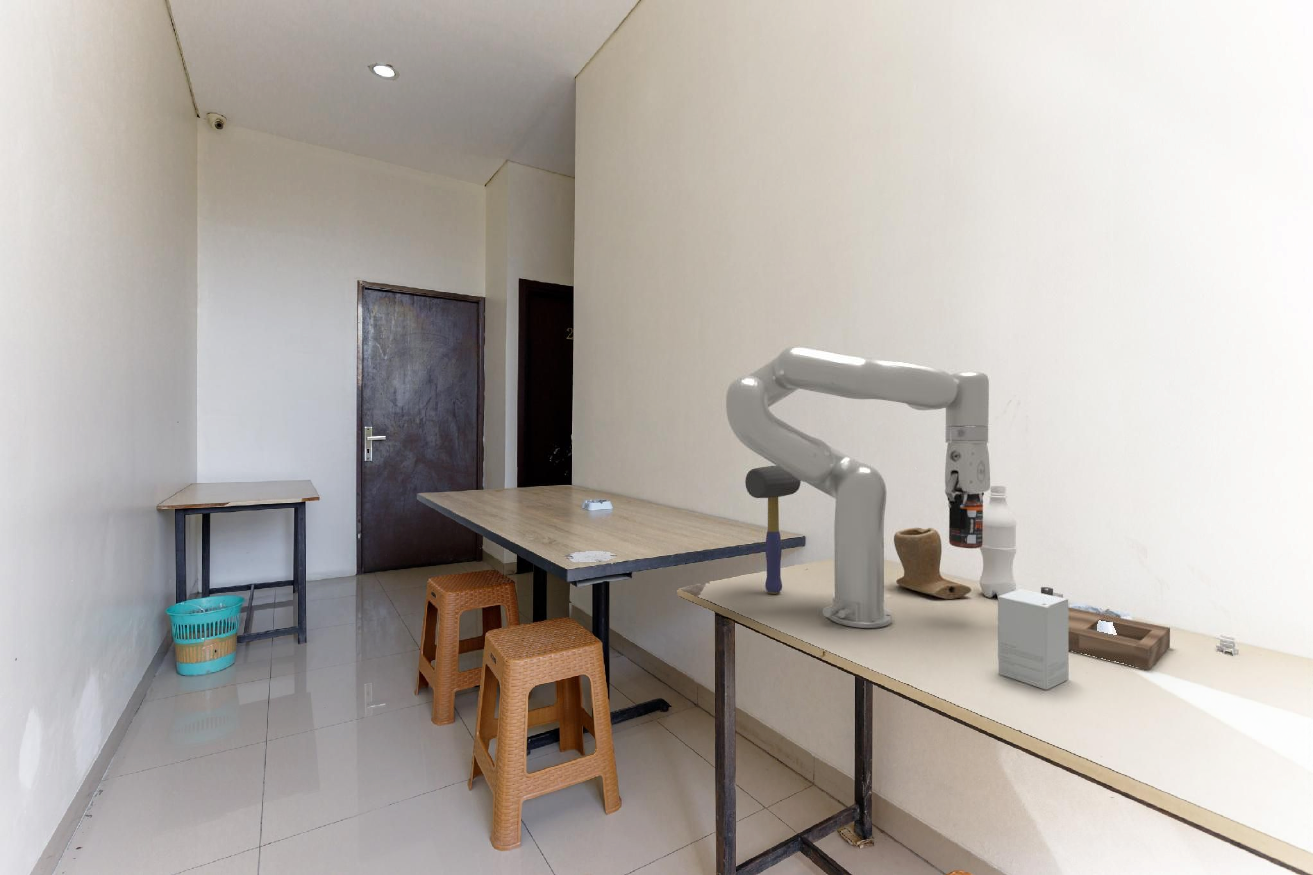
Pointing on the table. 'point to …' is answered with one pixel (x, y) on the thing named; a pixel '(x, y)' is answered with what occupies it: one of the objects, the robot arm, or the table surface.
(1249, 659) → the table surface
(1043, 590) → the locking bolt
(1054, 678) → the supplement box
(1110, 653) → the socket block
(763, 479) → the rubber mallet
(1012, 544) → the water bottle
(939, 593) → the tan boot-shaped piece
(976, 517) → the supplement bottle
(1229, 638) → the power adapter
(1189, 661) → the table surface
